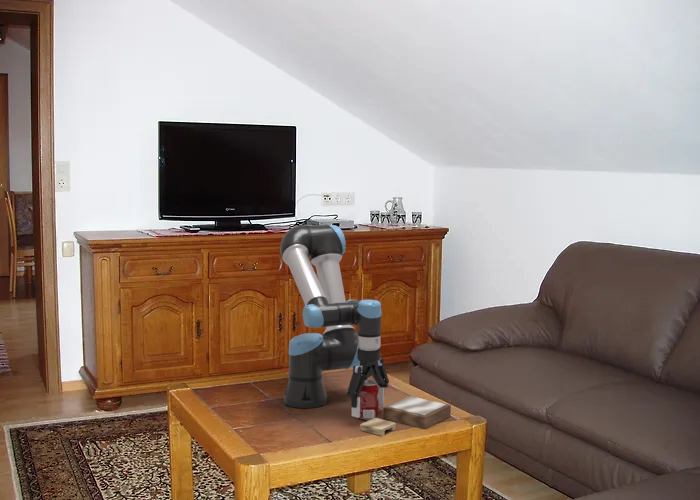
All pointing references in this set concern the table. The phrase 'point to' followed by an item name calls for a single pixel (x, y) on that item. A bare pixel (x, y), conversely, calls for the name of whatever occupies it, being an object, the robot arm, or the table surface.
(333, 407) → the table surface
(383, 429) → the plate
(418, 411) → the dock
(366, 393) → the soda can
